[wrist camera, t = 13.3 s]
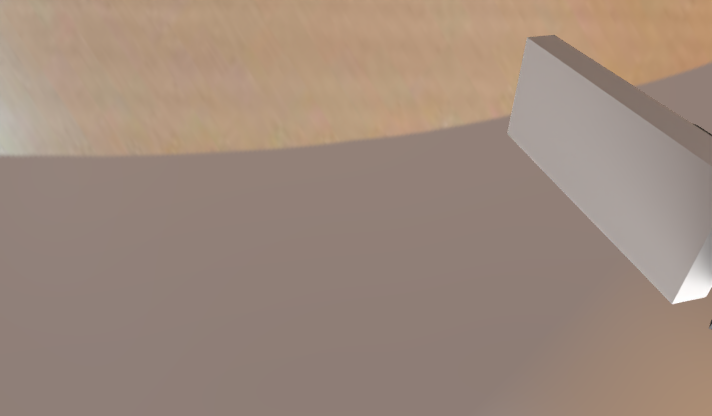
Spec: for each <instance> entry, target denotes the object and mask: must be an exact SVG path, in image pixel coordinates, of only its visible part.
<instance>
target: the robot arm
mask: <svg viewBox="0 0 712 416" xmlns="http://www.w3.org/2000/svg"><path fill="white" fill-rule="evenodd" d="M507 134H508V135H509V136H510V137H511V138H512V139H513V140H514V141H515V142H516V143H517V144H518V146H520V147H521V149H522V150H523V151H524V152H525V153H526V154H527V155H528V156H529V157H530V158H531V159H532V160H533V161H534V162H535V163H536V164H537V165H538V166H539V167H540V168H541V169H542V170H543V171H544V172H545V173H546V174H547V175H548V177H549V178H550V179H551V180H552V181H554V183H555V184H556V185H557V186H558V187H559V188H560V189H561V190H562V191H563V192H564V193H565V194H566V195H567V196H568V197H569V198H570V199H571V200H572V201H573V202H574V203H575V204H576V205H577V206H578V207H579V208H580V209H581V211H582V212H583V213H584V214H585V215H586V216H587V217H588V218H589V219H590V220H591V221H592V222H593V223H594V224H595V225H596V226H597V227H598V228H599V229H600V230H601V231H602V232H603V233H604V234H605V235H606V236H607V237H608V238H609V239H610V241H611V242H612V243H613V244H614V245H615V246H616V247H617V248H618V249H619V250H620V251H621V252H622V253H623V254H624V255H625V256H626V257H627V258H628V259H629V260H630V261H631V262H632V263H633V264H634V265H635V266H636V267H637V268H638V269H639V271H640V272H641V273H643V275H644V276H645V277H646V278H647V279H648V280H649V281H650V282H651V283H652V284H653V285H654V286H655V287H656V288H657V289H658V290H659V291H660V292H661V293H662V294H663V295H664V296H665V297H666V298H667V299H668V300H669V301H670V303H671V304H674V303H680V302H684V301H689V300H694V299H698V298H703V297H706V296H707V294H708V292H709V291H710V289H711V287H712V135H711V134H710V133H708V132H707V131H705V130H704V129H702V128H701V127H699V126H697V125H695V124H692V123H690V122H689V121H687V120H685V119H684V118H683V117H681V116H679V115H678V114H676V113H675V112H673V111H672V110H670V109H668V108H667V107H665V106H664V105H662V104H661V103H659V102H658V101H656V100H655V99H653V98H651V97H650V96H648V95H647V94H645V93H644V92H642V91H640V90H639V89H637V88H636V87H634V86H633V85H631V84H630V83H628V82H627V81H625V80H623V79H622V78H620V77H619V76H617V75H616V74H614V73H613V72H611V71H609V70H608V69H606V68H605V67H603V66H602V65H600V64H599V63H597V62H595V61H594V60H592V59H591V58H589V57H588V56H586V55H585V54H583V53H581V52H580V51H578V50H577V49H575V48H574V47H572V46H571V45H569V44H567V43H566V42H564V41H563V40H561V39H560V38H558V37H557V36H555V35H550V36H538V37H527V41H526V46H525V51H524V55H523V60H522V65H521V70H520V75H519V79H518V84H517V89H516V94H515V99H514V104H513V108H512V113H511V118H510V123H509V128H508V133H507ZM709 329H712V320H711V324H710V327H709Z"/></svg>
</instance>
